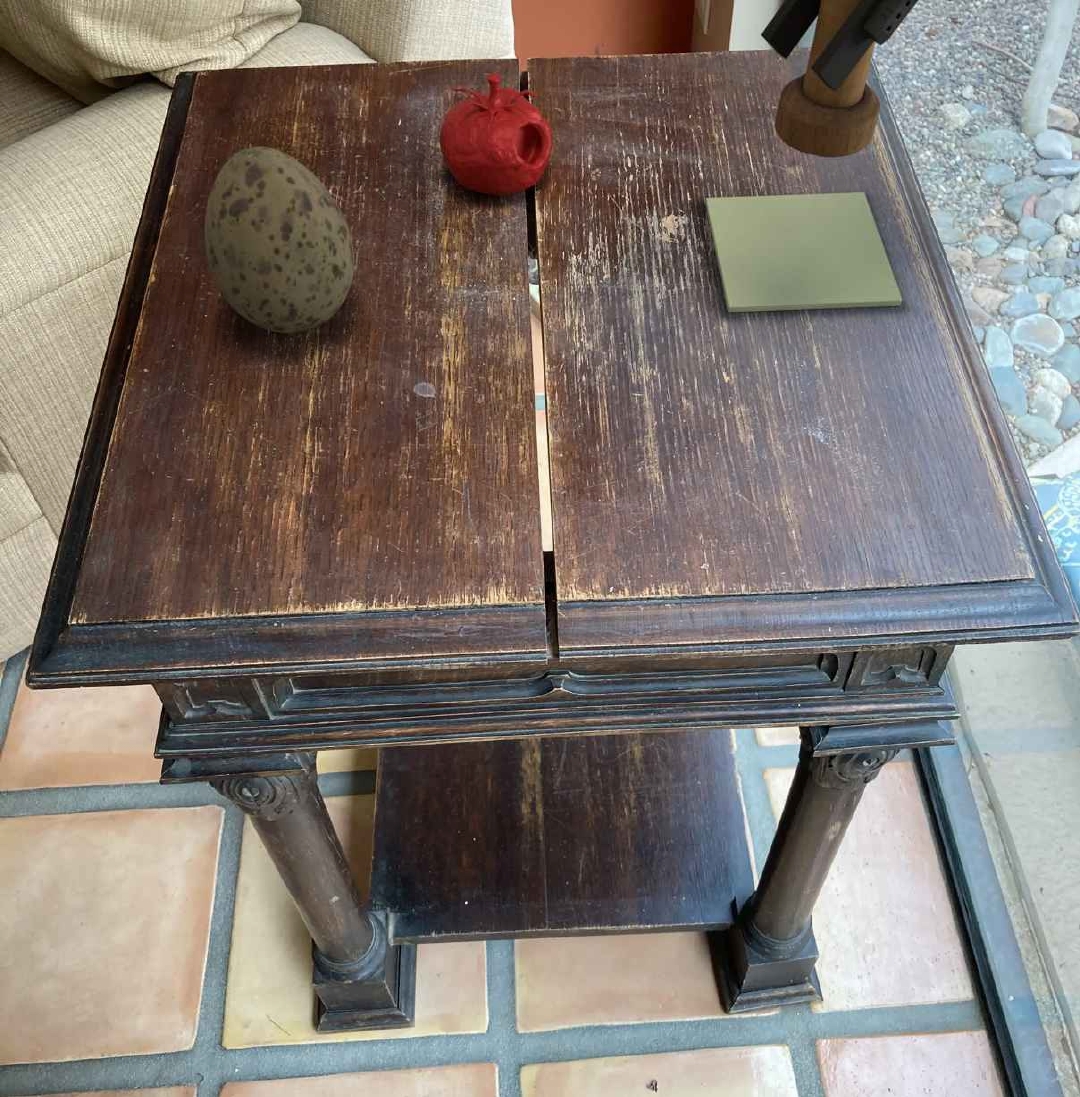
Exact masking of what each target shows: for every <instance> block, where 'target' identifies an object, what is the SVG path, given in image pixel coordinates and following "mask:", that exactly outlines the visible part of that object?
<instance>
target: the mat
mask: <svg viewBox="0 0 1080 1097" xmlns="http://www.w3.org/2000/svg"><path fill="white" fill-rule="evenodd" d="M704 202H705V203H704V204H705V209H706V213H707V219H708V223H709V228H710V229H709V230H710V232H711V233H710V234H711V237H712V242H713V247H714V251H715V256H716V262H717V266H718V271H719V275H720V276H719V277H720V280H721V285H722V289H723V295H724V299H725V304H726V309H727V312H728V313H745V312H746V313H747V312H748V313H749V312H771V311H774V312H775V311H798V310H799V311H800V310H801V311H803V310H823V309H825V310H826V309H827V310H828V309H846V308H847V309H848V308H849V309H850V308H851V309H852V308H873V307H874V308H875V307H876V308H879V307H900V306H901V305H902V303H903V299H902V296H901V292H900V289H899V287H898V285H897V282H896V279H895V276H894V272H893V270H892V267H891V265H890V264H891V263H890V262H889V258H888V256H887V253H886V251H885V246H884V244H883V241H882V239H881V236H880V233H879V229H878V227H877V225H876V221H875V218H874V216H873V212H872V211H871V207H870V205H869V202H868V199H867V197H866V193H865V192H864V191H858V192H832V193H831V192H830V193H829V192H828V193H807V194H806V193H805V194H804V193H803V194H802V193H801V194H779V195H778V194H777V195H776V194H775V195H749V196H748V195H747V196H725V197H724V196H722V197H706V198H705V201H704Z"/></svg>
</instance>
